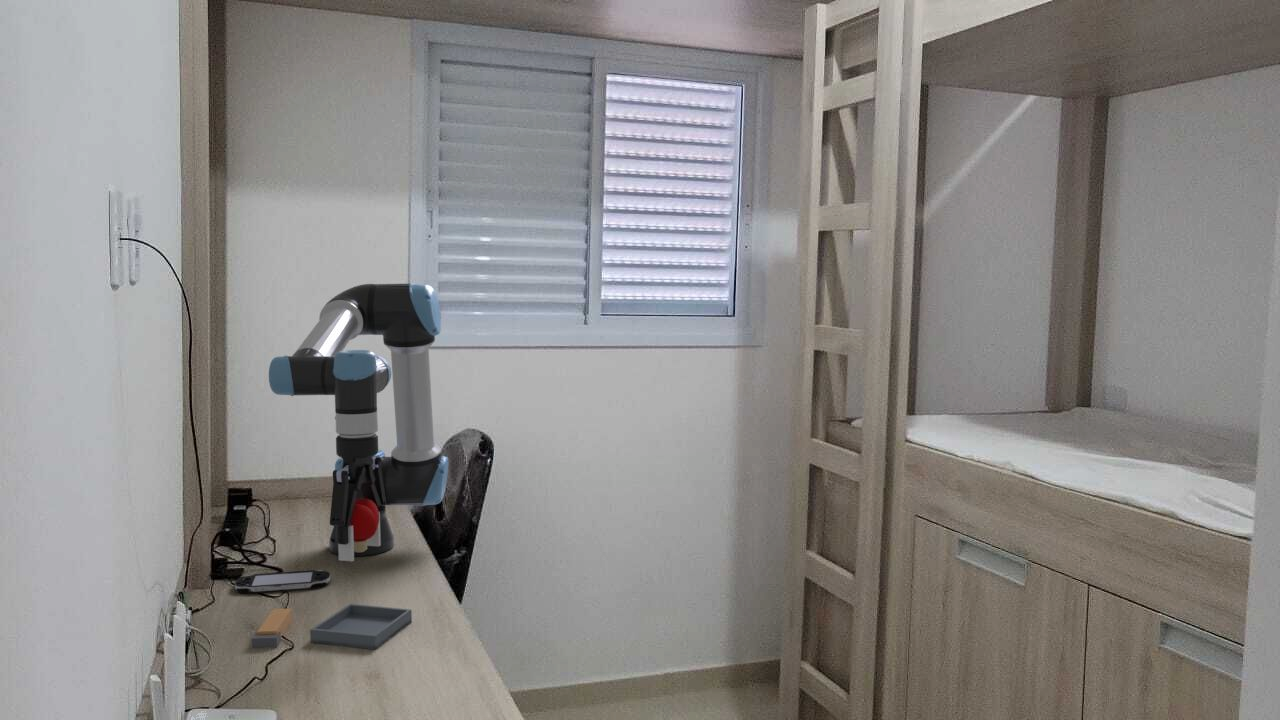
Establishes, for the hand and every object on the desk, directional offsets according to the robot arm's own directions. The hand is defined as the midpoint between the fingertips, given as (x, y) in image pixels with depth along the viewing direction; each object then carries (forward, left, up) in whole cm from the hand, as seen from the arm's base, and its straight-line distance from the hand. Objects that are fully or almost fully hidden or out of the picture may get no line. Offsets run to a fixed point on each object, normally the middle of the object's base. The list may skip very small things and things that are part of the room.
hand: (360, 552), depth 193 cm
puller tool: (+4, -16, -16) cm, 23 cm away
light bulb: (0, 0, 0) cm, 0 cm away
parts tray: (0, 0, -15) cm, 15 cm away
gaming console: (-20, -30, -16) cm, 40 cm away
